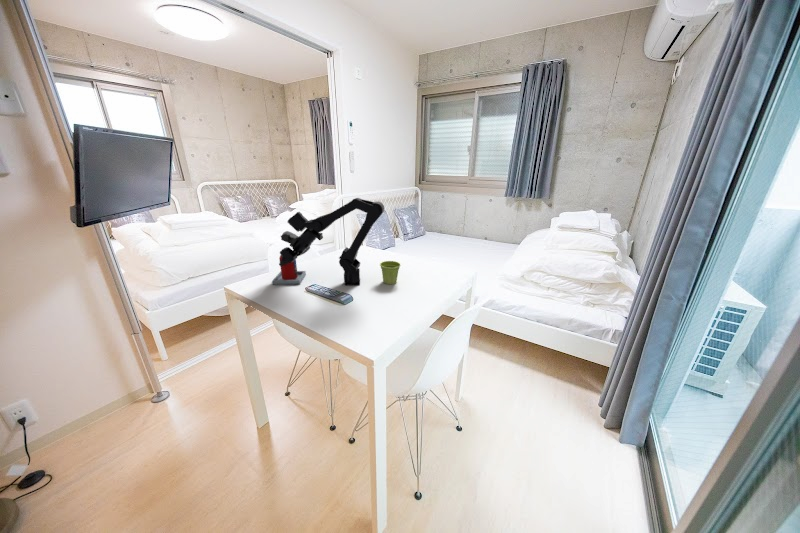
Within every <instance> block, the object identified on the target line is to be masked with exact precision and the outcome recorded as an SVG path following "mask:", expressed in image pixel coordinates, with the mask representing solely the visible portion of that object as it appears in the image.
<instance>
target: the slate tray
mask: <svg viewBox="0 0 800 533" xmlns="http://www.w3.org/2000/svg"><path fill="white" fill-rule="evenodd" d="M306 272H307V271H306V270H297V275H298V277H297V278H296V279H294V280H284V279H282V274H281V270H280V272H278V274H277V275H276V276H275V277H274V278H273V280H272V281H271V283H272V286H286V285H287V286H288V285H289V286H291V285H293V286H295V285H301V283H302V282H303V280H304V278H305V277H306V276H307V274H306Z"/></svg>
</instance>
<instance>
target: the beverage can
mask: <svg viewBox="0 0 800 533" xmlns="http://www.w3.org/2000/svg"><path fill="white" fill-rule="evenodd" d="M281 259H282V255H281V254H280V256H279V262H280V261H281ZM297 265H298V264H297V258H296V259H295V260H294V261H293V262H292V263H288V264H286V265H283V266H280V265H279V267H280V271H281V274H282V279H284V280H294V279H296V278H297V277H298V275H297V271H298V266H297Z"/></svg>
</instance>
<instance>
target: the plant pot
mask: <svg viewBox="0 0 800 533" xmlns="http://www.w3.org/2000/svg"><path fill="white" fill-rule="evenodd" d="M401 265H402V264H401V263H400V262H398V261H394V260H386V261H385V260H384V261H382V262H380V263H379V266H380V268H381V272H382V282H383V283H385V285H394V284H396V283H397V280H398V275H399V269H400V267H401Z"/></svg>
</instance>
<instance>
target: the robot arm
mask: <svg viewBox="0 0 800 533" xmlns="http://www.w3.org/2000/svg"><path fill="white" fill-rule="evenodd" d="M355 210H359V211H361V212H364V213H366V216H365V220H364V221H363V223H362V225H361V227H360V229H359V231H358V233H357V234H356V236H355V237H354V239H353V241H352V243H351V244H350V246H349V248H348V247H347V246H346V247H345V248H344V249H343V251H342V252H341V255H339V257H338V259H339V261H338V263H339V266H340V267H341V268H342V269H343V282H344V283H345V284H344V285H345V286H360V285H361V274H360V272H361V271H360V270H361V269H360V266H361V262H360V260H358V259H357V256H358V253H359V250H360V247H361V246H362V244H363V243H364V241H365V239H366V237H367V236H368V234H369V233H370V232H371V229H372V227H373V226H374V224H375V223H376V222H377V221H378V219H379V218H380V217H381V215H383V214H384V212H385V205H384V204H383V203H382V202H381V201H375V202H374V201H371V200H367V199H362V198H361V197H355V198H353V199H352V200H351V201H350V202H347V203H346V204H343V205H342V206H341V207H339V208H337V209H335V210H333V211H332V212H330V213H326V214H324V215H320V216H318V217H316V218H314V219H309V220H308V219H307V218H306V217H305V216H304V215H303V213H301V212H300V211H297V212H296V213H295V214H293V215H292V217H289V219H288V220H287V224H289V226H291V227H292V228H293V229H294V230H295V231H296V233H297V232H302V233H301V234H299V235H298V234H295V233H293V232H291V231H288V230H287V231H284V232H283V233H282V235H280V239H281V241H283V242H285V243H288V244H289V246H286V247H284V248H282V249H281V251H279V254H280V255H282V259H281V261H280V260H279V263H278V265H279V267H280V266H283V265H286V264H288V263H292V262H293V261H294V260H295V259H296V260H297V259H298V257H300V256H303V255H305V254H306V253H307V252H308V251H309V250H310V249H311V246H312V244H313V242H314V241H315V240H319V241H321V240H323V239H324V236H323V233H322V232H323V231H324V230H326V229H328V228H329V227H330V226H331V225H333V223H334V222H336V221H337V220H339V219H341V218H342V217H344V216H347V215H348V214H349V213H351V212H353V211H355Z"/></svg>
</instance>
